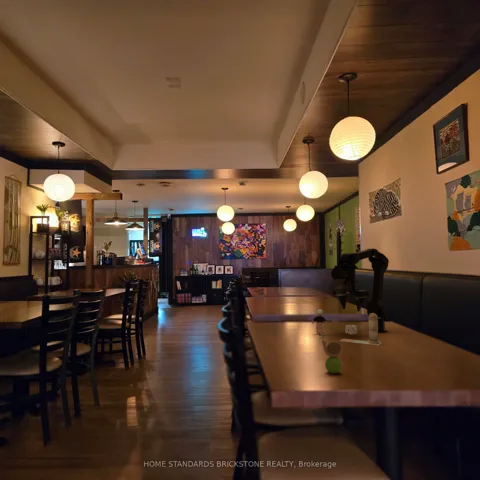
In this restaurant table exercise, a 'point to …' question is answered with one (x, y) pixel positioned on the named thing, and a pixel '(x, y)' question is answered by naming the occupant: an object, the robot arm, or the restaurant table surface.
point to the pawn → (373, 329)
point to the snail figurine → (332, 356)
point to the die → (351, 329)
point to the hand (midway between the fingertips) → (351, 310)
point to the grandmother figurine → (319, 322)
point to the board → (356, 341)
